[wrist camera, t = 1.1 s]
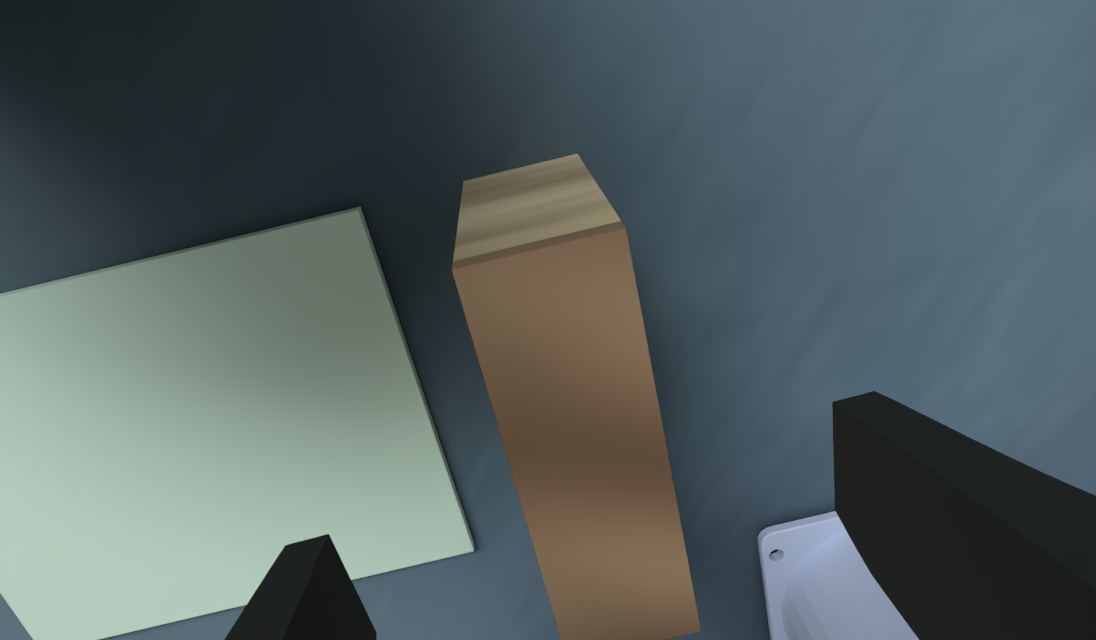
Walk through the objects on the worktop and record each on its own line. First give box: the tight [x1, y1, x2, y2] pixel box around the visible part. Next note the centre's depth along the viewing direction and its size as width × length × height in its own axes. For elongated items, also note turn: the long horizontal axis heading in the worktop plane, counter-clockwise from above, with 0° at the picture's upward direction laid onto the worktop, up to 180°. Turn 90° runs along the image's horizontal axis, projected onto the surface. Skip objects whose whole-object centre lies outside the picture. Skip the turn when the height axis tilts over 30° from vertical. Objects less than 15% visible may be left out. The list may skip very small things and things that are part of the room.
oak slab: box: [452, 154, 701, 640], centre depth 18 cm, size 10×3×8 cm, turn 13°
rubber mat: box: [0, 207, 474, 640], centre depth 22 cm, size 12×15×1 cm
